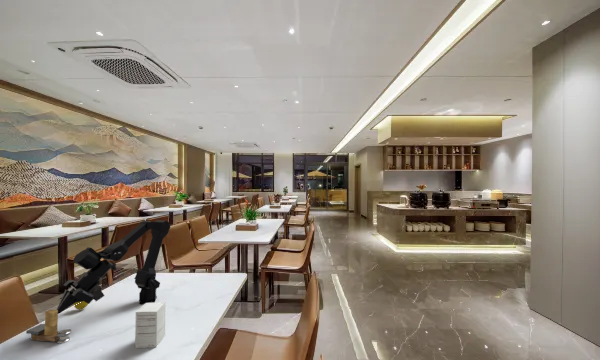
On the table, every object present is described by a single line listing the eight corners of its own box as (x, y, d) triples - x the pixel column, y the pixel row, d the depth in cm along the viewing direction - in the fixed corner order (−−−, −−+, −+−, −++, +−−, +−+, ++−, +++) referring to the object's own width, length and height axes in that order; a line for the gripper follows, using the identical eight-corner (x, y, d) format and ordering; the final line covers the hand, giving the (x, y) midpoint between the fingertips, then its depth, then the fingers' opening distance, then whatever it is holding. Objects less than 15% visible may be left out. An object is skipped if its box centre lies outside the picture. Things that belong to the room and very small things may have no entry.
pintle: (73, 336, 95) (73, 328, 95) (68, 342, 91) (68, 334, 91) (59, 338, 93) (59, 330, 93) (53, 345, 89) (53, 336, 90)
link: (63, 336, 94) (64, 309, 94) (54, 341, 91) (55, 313, 91) (41, 334, 95) (42, 307, 95) (32, 340, 92) (32, 312, 92)
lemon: (80, 313, 112) (80, 295, 112) (69, 312, 113) (70, 294, 113) (92, 307, 117) (93, 290, 117) (82, 306, 118) (83, 289, 118)
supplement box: (145, 336, 95) (146, 302, 95) (165, 335, 96) (166, 301, 96) (134, 348, 88) (134, 311, 88) (156, 347, 88) (157, 311, 89)
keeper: (52, 334, 95) (52, 325, 96) (37, 342, 91) (38, 331, 91) (40, 333, 96) (41, 323, 96) (25, 341, 92) (26, 330, 92)
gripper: (119, 289, 101) (83, 330, 92) (104, 279, 113) (71, 314, 104) (94, 275, 95) (53, 317, 86) (81, 266, 107) (44, 302, 98)
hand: (57, 312), depth 94 cm, fingers closed
